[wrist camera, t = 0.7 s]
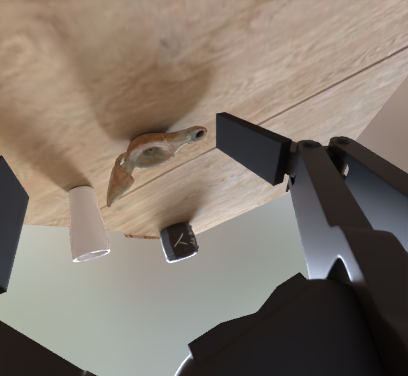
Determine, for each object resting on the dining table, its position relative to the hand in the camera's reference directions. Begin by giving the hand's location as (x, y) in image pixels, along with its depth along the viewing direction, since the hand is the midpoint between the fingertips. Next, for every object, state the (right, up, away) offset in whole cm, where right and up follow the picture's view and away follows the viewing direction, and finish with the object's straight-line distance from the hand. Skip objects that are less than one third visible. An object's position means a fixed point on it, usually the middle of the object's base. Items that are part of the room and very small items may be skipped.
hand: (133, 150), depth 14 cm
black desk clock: (-11, -24, +97) cm, 101 cm away
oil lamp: (-6, +7, +26) cm, 28 cm away
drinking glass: (-23, -3, +33) cm, 41 cm away
